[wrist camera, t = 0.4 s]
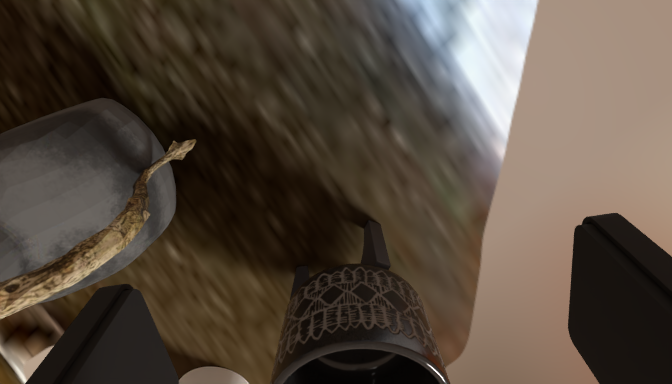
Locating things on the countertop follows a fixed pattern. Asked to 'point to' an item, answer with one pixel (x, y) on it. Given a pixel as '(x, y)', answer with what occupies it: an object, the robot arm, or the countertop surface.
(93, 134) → the pitcher
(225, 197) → the countertop surface
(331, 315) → the planter
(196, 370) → the cylinder container
